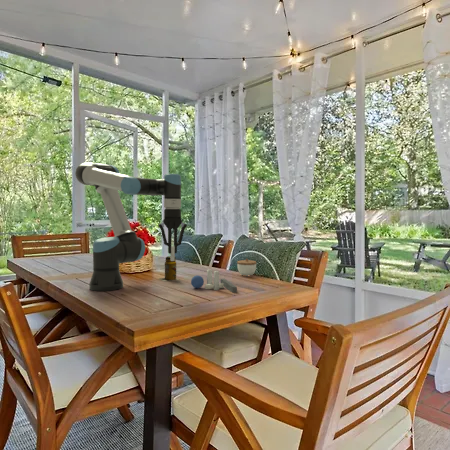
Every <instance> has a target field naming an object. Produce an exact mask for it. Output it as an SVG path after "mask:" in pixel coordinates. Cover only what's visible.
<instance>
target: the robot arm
mask: <svg viewBox="0 0 450 450" xmlns="http://www.w3.org/2000/svg"><path fill="white" fill-rule="evenodd" d="M75 178H76V180H77V181H78V182H79V183H80V184H82V185H85V186H92V187H94V188H95V190H96V192H97V193H98V194H100V196H101V198H102V202H103V205H104V208H105V210H106V213H107V216H108V220H109V223H110V226H111V228H112V232H113V235H114V236H109V237H107V236H106V237H105V236H104V237H100V238H98V239H95V240H94V242H93V244H92V262H93V263H92V270H93V271H92V274H91V278H90V281H89V285H88V286H89V287H88V288H89V290H91V291H93V292H94V291H95V292H107V291H109V292H110V291H115V290H120V289H122V288H123V287H124V280H123V277H122V275H121V273H120V264H125V263H134V262H137V261H140V260H141V259H142V258H143V257H144V255H145V252H146V244H145V241H144V240H143V239H142V238H140V237H138V235H137V233H136V231H133V230H132V227H131V225H130V222H129V219H128V217H127V214H126V211H125V208H124V205H123V202H122V199H121V196H120V192H123V194H125V195H130V196H135V195H136V196H137V195H138V196H150V197H151V196H152V197H155V196H163V202H164V203H163V204H164V205H163V208H165V209H164V210H163V212H164V213H163V220H162V222H161V223H158V225H157V227H158V228H159V229H160V233H161V238H162V241H163V244H164V246H167V253H168V254H170V256H171V261H175V257H176V256H175V255H176V254H178V246H180V245H181V244H182V241H183V237H184V233H185V230H186V228H187V226H188V224H186V223H185V222H183V220H182V209H181V208H182V176H181V175H180V174H178V173H165V174H164V176H163V179H162V178H145V177H138V176H137V177H136V176H132V175H127V174H122V173H120V170H119V169H118V168H117V167H116V166H115V165H113V164H110V163H109V164H108V163H97V162H91V161H90V162H89V161H87V162H82V163H80V164H78V166H77V167H76V169H75ZM119 191H120V192H119ZM165 227H166V229H167V235H166V233H165V229H164V228H165ZM180 227H181V228H180ZM179 228H180V231H179V236H178V229H179ZM172 230H173V245H172Z"/></svg>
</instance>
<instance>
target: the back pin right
mask: <svg viewBox="0 0 450 450" xmlns="http://www.w3.org/2000/svg"><path fill="white" fill-rule="evenodd" d="M219 283H220V271H218V270H215V271H213V284H214V289H213V290H214V291H220V289H219Z"/></svg>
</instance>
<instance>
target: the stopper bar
mask: <svg viewBox="0 0 450 450" xmlns="http://www.w3.org/2000/svg"><path fill="white" fill-rule="evenodd" d="M220 283H223V284H224V288H226V289H227V290H228V291H230V293H231V294H233V293H234V294H235V293H238V287H237V286H236V285H234V283H232V282H230V281H229V280H227V279H225V278H220Z"/></svg>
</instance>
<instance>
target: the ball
mask: <svg viewBox="0 0 450 450" xmlns="http://www.w3.org/2000/svg"><path fill="white" fill-rule="evenodd" d="M204 282H205V280H204V278H203V277H202V276H201V275H194V276H192V278H191V280H190V285H191V287H193V288H194V289H201V288H202V287H203V285H205V283H204Z"/></svg>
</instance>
